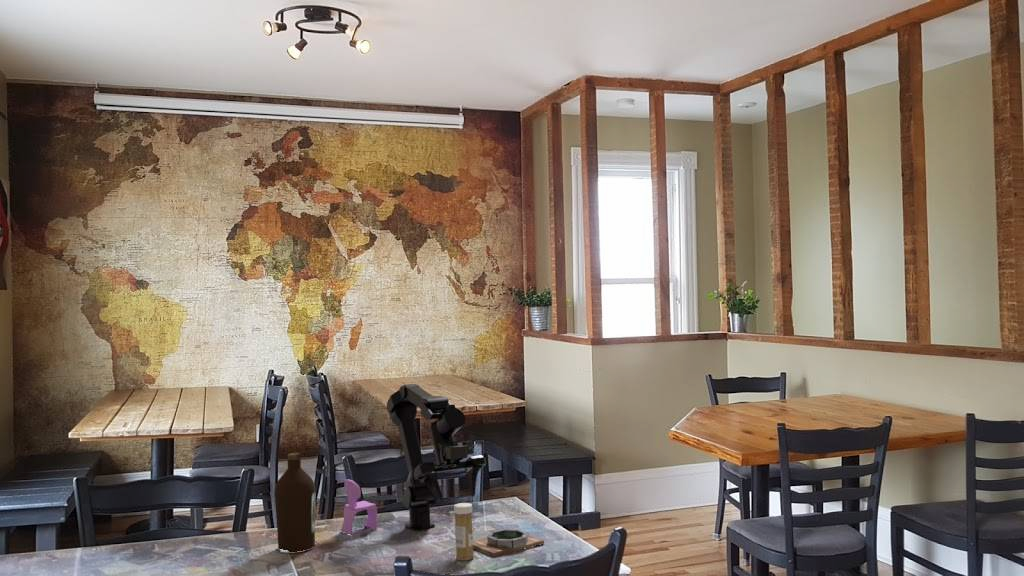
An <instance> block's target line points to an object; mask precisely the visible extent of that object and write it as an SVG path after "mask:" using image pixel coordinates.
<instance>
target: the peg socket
mask: <svg viewBox="0 0 1024 576" xmlns="http://www.w3.org/2000/svg"><path fill="white" fill-rule="evenodd" d="M528 533H529V532H527V531H524V530H521V529H517V528H515V529H512V528H510V529H509V528H508V529H507V528H503V529H502V528H501V529H499V530H494V531H490V532H489V534H487V537H486V538H487V540H488V545H490V546H493V547H495V548H516V547H520V546H524V545H526V543H527V541H528V535H529V534H528Z"/></svg>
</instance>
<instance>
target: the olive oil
mask: <svg viewBox="0 0 1024 576" xmlns="http://www.w3.org/2000/svg"><path fill="white" fill-rule="evenodd" d="M287 458H288V459H287V469H286V470H285V472H284V473H283V474H282V475H281V477H280V478H279V479H278V480H277V482H276V483H275V486H274V492H273V493H274V495H273V496H274V504H275V518H276V532H277V534H276V535H277V545H278V546H277V548H279V549H283V550H288V551H289V552H297V551H303V550H307V549H310V548H312V547H314V546H316V498H317V497H316V495H317V491H316V490H317V489H316V485H315V482H314V480H313V478H312V477H311V476H310V475H309V474H308V473H307V472H306V471H305V470H304V469H303V468H302V463H301V462H302V458H301V453H299V452H292V453H288V454H287ZM314 548H315V547H314ZM279 549H278V550H279Z"/></svg>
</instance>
